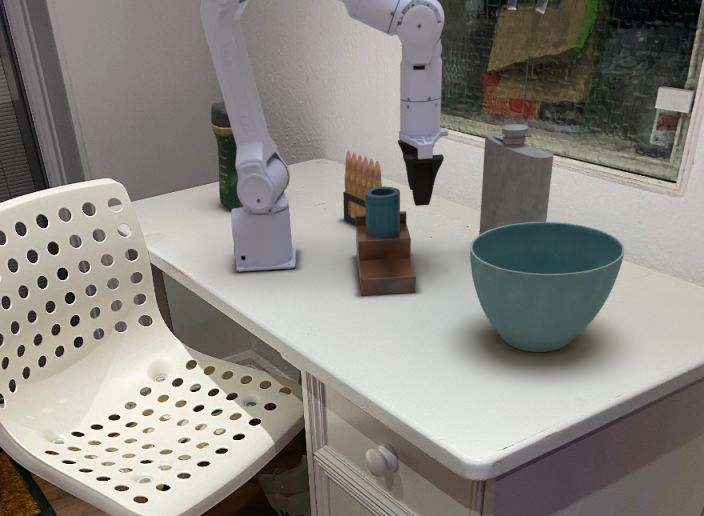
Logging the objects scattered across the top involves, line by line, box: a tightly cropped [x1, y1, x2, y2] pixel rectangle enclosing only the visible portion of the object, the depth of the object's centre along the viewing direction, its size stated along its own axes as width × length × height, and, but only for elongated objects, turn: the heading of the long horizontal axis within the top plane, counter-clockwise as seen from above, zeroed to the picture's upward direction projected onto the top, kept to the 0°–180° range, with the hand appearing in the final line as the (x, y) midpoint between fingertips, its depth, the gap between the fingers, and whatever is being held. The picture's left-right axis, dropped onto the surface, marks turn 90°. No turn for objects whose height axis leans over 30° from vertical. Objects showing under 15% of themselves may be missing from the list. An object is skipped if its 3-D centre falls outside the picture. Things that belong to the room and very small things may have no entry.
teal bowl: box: [469, 221, 625, 353], centre depth 103 cm, size 18×18×12 cm
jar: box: [365, 186, 401, 237], centre depth 124 cm, size 5×5×6 cm
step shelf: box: [355, 210, 417, 296], centre depth 125 cm, size 8×16×7 cm, turn 1°
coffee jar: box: [210, 101, 243, 210], centre depth 153 cm, size 10×8×19 cm
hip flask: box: [478, 123, 555, 236], centre depth 121 cm, size 16×4×20 cm, turn 19°
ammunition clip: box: [343, 149, 383, 227], centre depth 141 cm, size 11×2×12 cm, turn 31°
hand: (419, 196), depth 123 cm, fingers open, 7 cm apart
